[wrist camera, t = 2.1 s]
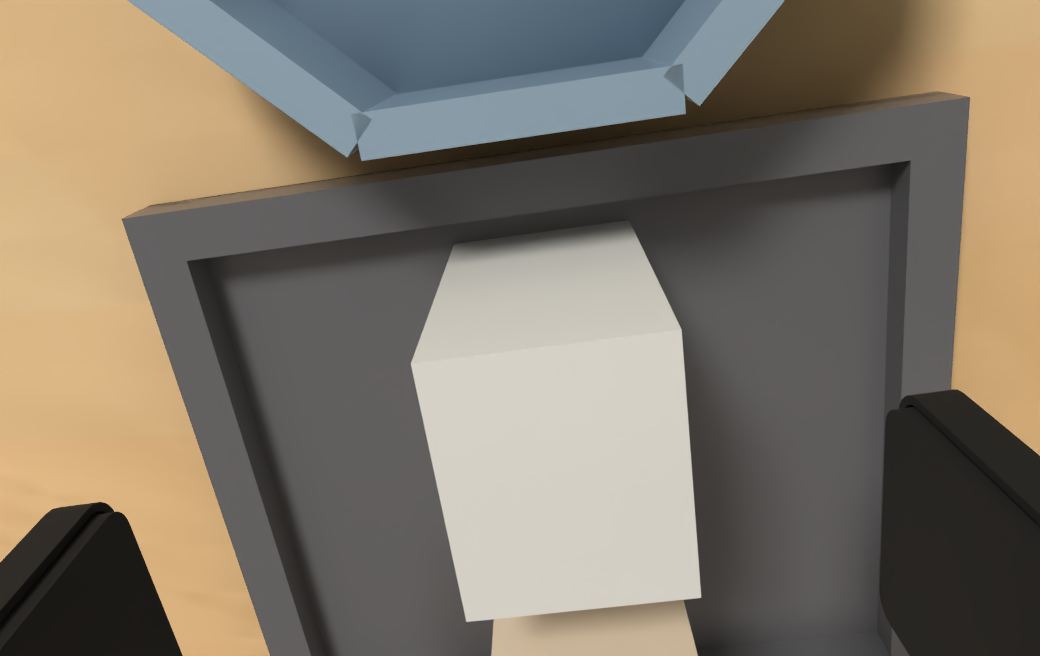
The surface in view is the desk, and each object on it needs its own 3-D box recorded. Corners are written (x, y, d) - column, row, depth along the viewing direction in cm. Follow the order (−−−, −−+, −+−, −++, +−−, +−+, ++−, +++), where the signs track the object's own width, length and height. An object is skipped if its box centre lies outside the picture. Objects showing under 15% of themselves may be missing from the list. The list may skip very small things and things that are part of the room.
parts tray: (937, 91, 15) (970, 96, 14) (909, 646, 20) (931, 683, 19) (149, 205, 16) (121, 219, 15) (312, 704, 21) (299, 742, 20)
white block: (629, 219, 16) (681, 329, 10) (647, 411, 17) (701, 597, 12) (453, 244, 16) (410, 363, 10) (487, 430, 17) (466, 621, 12)
